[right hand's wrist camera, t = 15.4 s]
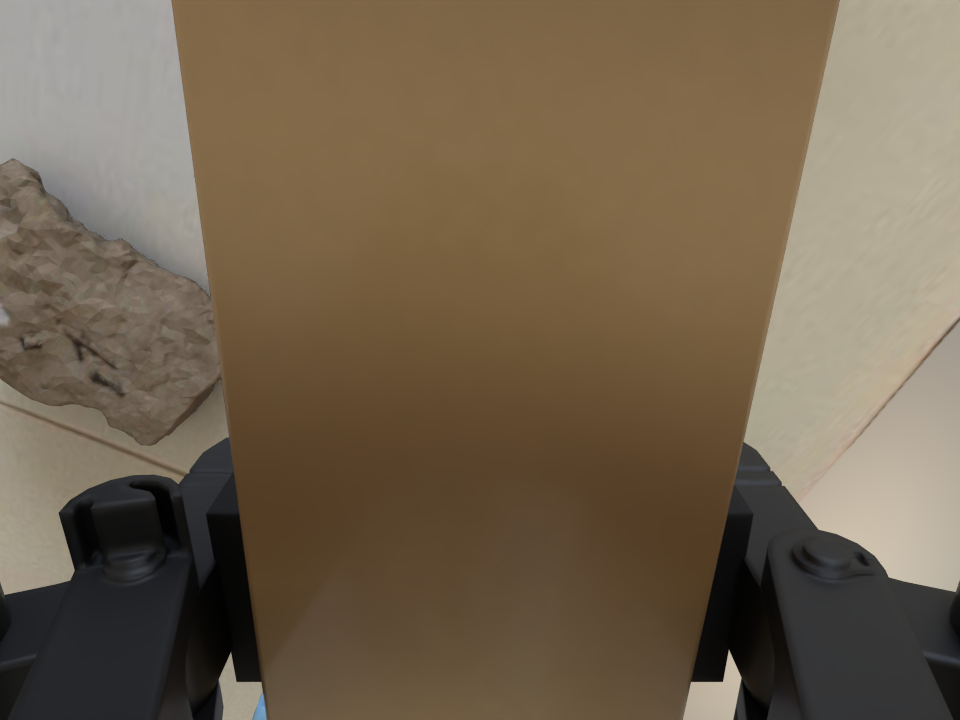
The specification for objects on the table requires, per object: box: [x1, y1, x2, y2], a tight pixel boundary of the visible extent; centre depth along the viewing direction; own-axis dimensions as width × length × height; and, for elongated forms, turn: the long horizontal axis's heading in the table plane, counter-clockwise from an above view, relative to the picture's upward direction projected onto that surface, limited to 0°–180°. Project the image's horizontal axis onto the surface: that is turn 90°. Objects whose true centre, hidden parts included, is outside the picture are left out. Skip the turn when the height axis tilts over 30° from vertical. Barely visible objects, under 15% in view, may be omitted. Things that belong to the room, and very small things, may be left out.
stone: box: [0, 158, 221, 446], centre depth 51 cm, size 21×15×6 cm
